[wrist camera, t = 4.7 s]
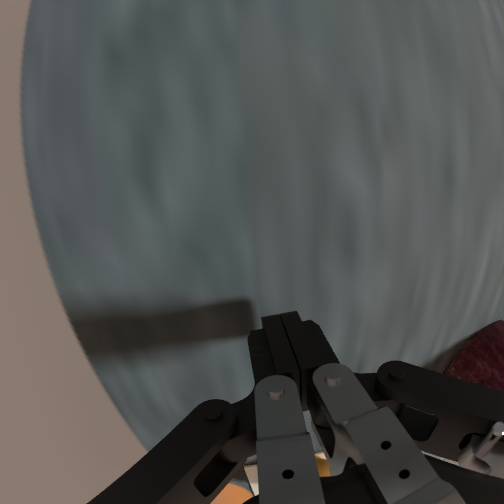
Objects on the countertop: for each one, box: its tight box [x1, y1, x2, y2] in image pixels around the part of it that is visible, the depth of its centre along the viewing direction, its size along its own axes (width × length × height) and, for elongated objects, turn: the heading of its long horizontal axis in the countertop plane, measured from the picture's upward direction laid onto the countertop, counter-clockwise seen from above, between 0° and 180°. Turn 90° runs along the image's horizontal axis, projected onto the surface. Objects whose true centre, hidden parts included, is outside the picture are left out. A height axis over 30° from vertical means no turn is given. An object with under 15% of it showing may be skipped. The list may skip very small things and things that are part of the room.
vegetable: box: [443, 320, 504, 391], centre depth 12 cm, size 10×10×15 cm
